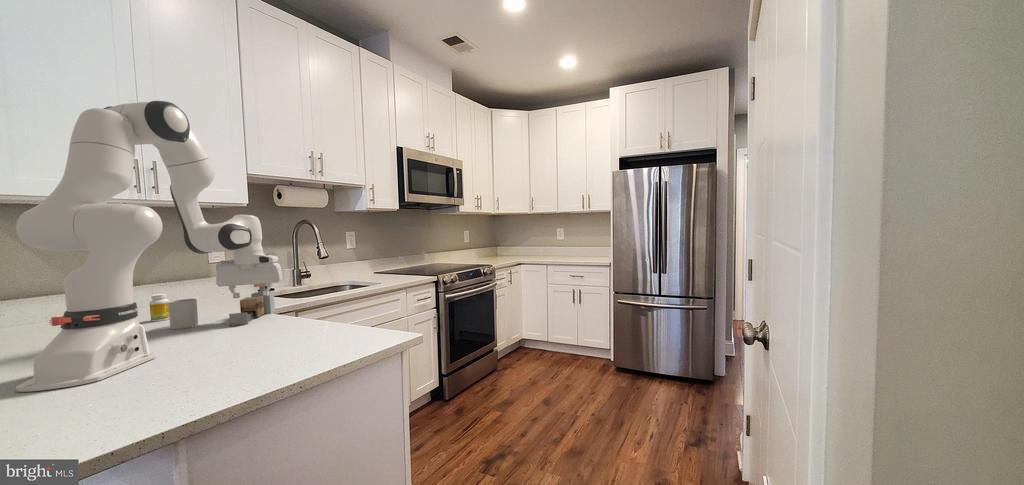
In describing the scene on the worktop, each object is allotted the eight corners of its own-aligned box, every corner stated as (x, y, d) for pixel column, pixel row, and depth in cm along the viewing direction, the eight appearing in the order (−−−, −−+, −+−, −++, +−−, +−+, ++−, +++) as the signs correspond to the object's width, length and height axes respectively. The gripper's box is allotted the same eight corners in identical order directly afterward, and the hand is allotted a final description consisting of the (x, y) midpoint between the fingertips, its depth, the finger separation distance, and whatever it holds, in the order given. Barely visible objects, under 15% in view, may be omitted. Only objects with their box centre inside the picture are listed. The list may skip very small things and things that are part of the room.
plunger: (267, 296, 143) (266, 282, 142) (254, 297, 141) (253, 283, 141) (270, 295, 146) (269, 281, 145) (257, 296, 145) (256, 282, 144)
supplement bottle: (151, 320, 140) (149, 294, 139) (171, 317, 143) (168, 292, 143) (150, 322, 136) (147, 296, 135) (170, 319, 139) (167, 294, 139)
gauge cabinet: (270, 313, 143) (269, 292, 142) (252, 315, 141) (251, 294, 141) (274, 310, 147) (273, 290, 146) (257, 312, 145) (255, 292, 145)
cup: (171, 331, 122) (168, 303, 122) (169, 326, 129) (166, 300, 129) (199, 326, 127) (197, 300, 127) (196, 321, 134) (194, 297, 134)
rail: (247, 324, 126) (246, 312, 126) (230, 326, 125) (229, 314, 125) (264, 314, 142) (263, 303, 141) (249, 315, 140) (248, 305, 140)
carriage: (258, 317, 135) (257, 298, 135) (241, 318, 134) (239, 300, 134) (264, 313, 141) (263, 296, 141) (248, 315, 140) (246, 297, 139)
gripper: (211, 261, 130) (213, 300, 131) (277, 257, 136) (279, 295, 136) (220, 260, 137) (222, 298, 137) (282, 256, 142) (285, 293, 142)
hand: (251, 296), depth 136 cm, fingers open, 8 cm apart
